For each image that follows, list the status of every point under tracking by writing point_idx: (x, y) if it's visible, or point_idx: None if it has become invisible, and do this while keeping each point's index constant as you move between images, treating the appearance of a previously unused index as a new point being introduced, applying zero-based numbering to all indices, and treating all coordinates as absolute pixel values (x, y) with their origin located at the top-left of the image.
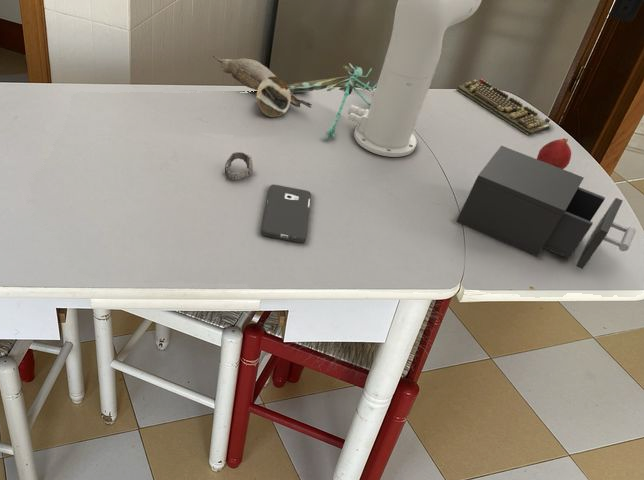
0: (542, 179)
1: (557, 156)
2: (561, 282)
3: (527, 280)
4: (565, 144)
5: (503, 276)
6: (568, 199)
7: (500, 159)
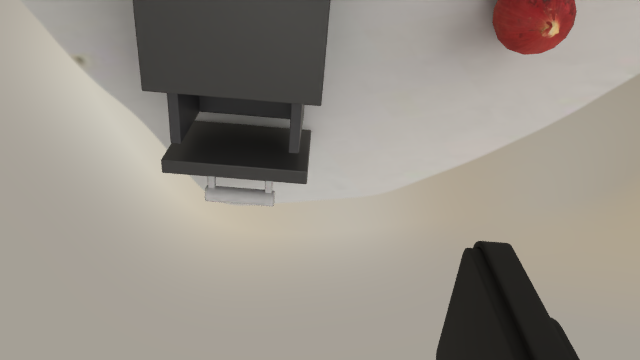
0: (236, 18)
1: (505, 24)
2: (139, 104)
3: (94, 50)
4: (540, 34)
5: (67, 6)
6: (194, 89)
7: None
